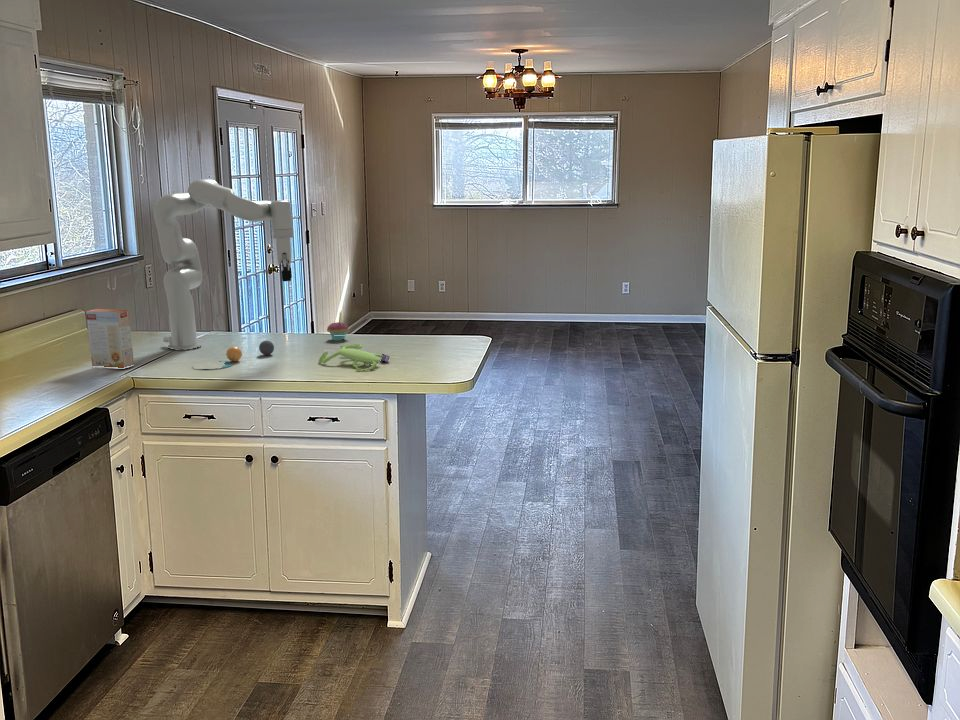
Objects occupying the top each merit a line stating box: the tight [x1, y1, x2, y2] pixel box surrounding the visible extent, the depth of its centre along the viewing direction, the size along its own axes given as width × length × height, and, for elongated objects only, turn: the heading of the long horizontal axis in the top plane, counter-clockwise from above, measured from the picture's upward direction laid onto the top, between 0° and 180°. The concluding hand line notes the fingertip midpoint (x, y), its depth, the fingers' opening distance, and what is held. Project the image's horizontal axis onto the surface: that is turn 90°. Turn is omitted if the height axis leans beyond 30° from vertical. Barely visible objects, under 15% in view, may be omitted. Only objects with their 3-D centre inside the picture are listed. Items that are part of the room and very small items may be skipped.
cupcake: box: [326, 311, 349, 342], centre depth 359 cm, size 9×8×12 cm
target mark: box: [222, 360, 234, 369], centre depth 317 cm, size 14×14×1 cm
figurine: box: [317, 343, 390, 371], centre depth 317 cm, size 18×27×6 cm
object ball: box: [226, 346, 243, 363], centre depth 323 cm, size 6×6×6 cm
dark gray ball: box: [258, 340, 275, 356], centre depth 333 cm, size 6×6×6 cm
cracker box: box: [85, 308, 135, 368], centre depth 314 cm, size 14×6×21 cm, turn 71°
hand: (287, 279), depth 333 cm, fingers open, 9 cm apart
